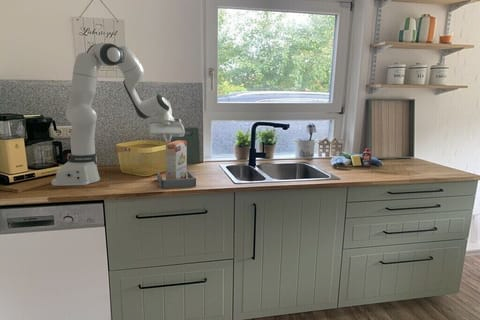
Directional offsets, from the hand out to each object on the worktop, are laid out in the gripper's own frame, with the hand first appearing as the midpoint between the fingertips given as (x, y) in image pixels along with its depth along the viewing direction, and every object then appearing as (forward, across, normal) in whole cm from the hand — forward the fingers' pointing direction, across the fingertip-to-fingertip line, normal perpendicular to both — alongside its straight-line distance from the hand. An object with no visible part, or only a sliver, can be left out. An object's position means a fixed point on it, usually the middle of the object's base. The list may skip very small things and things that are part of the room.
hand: (168, 141), depth 196 cm
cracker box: (+28, +1, -3) cm, 29 cm away
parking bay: (+30, +1, -5) cm, 30 cm away
